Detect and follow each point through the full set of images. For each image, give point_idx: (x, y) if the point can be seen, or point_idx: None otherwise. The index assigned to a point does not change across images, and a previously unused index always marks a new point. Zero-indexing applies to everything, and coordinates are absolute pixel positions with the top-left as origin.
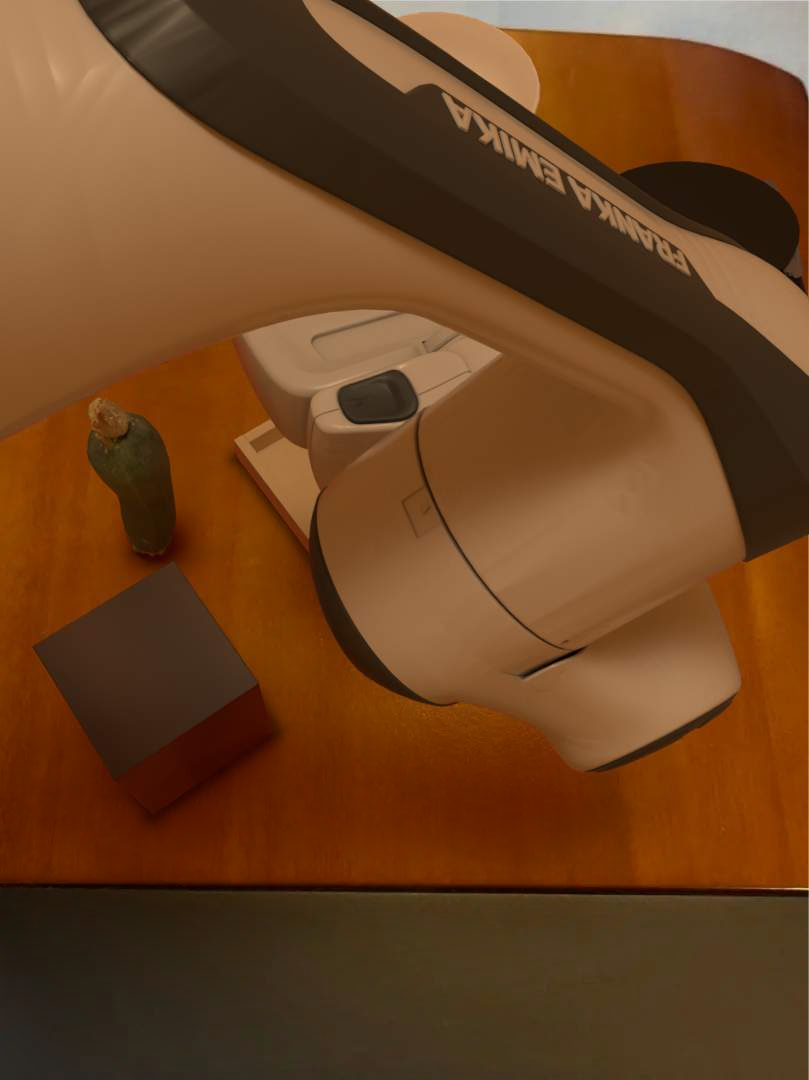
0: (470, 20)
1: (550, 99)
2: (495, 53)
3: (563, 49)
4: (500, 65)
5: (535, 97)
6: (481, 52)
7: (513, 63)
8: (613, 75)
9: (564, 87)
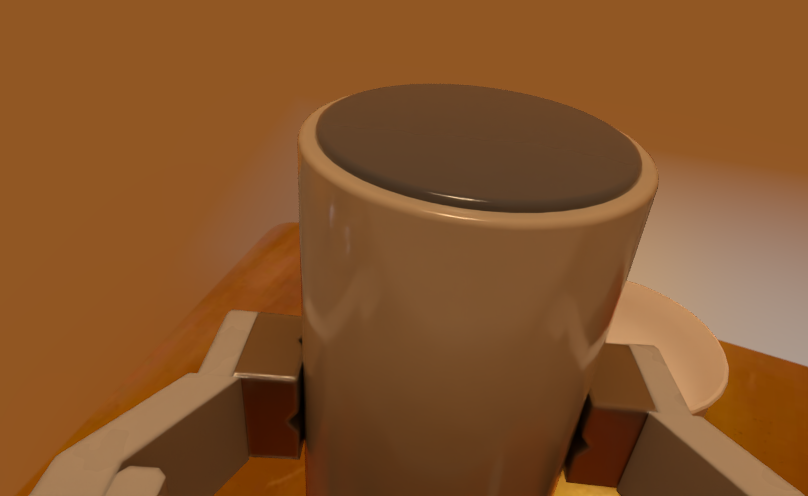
0: (653, 293)
1: (726, 393)
2: (675, 328)
3: (742, 354)
4: (679, 341)
5: (722, 378)
6: (659, 325)
7: (696, 341)
8: (800, 392)
9: (743, 387)
